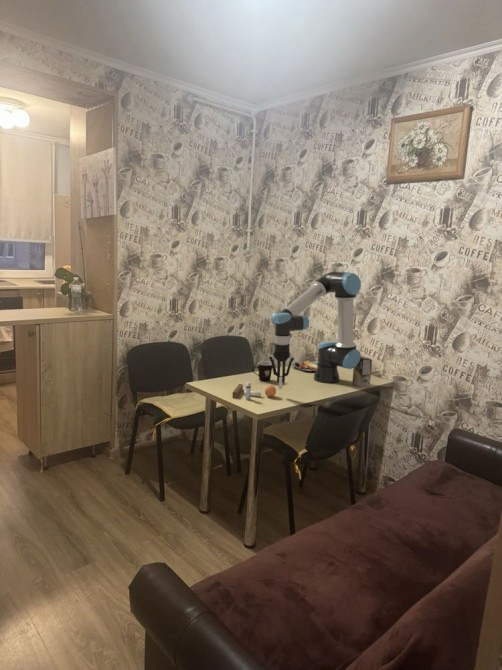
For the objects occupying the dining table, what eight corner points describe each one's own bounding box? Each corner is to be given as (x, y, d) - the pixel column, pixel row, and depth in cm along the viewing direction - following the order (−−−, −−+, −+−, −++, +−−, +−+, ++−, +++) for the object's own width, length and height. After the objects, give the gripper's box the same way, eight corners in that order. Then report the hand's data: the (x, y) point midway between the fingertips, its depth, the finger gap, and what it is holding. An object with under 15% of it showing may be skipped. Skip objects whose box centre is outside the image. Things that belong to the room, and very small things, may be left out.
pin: (259, 393, 237) (243, 391, 240) (259, 398, 238) (244, 395, 241) (260, 391, 239) (245, 389, 242) (261, 395, 240) (245, 393, 243)
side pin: (250, 398, 235) (251, 382, 234) (249, 400, 233) (250, 383, 231) (246, 398, 235) (246, 382, 234) (245, 399, 233) (245, 383, 232)
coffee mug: (272, 378, 275) (273, 362, 274) (271, 382, 267) (272, 365, 265) (252, 377, 276) (253, 361, 275) (251, 381, 268) (252, 364, 266)
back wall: (242, 389, 251) (242, 384, 250) (236, 398, 235) (236, 392, 235) (239, 389, 251) (239, 384, 250) (232, 397, 235) (232, 392, 235)
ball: (267, 382, 243) (263, 393, 243) (266, 384, 237) (262, 395, 237) (278, 386, 242) (274, 397, 242) (277, 388, 236) (273, 399, 236)
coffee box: (370, 386, 267) (372, 359, 264) (361, 387, 264) (363, 359, 262) (360, 382, 275) (362, 355, 272) (351, 383, 272) (353, 356, 270)
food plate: (284, 366, 309) (285, 361, 308) (309, 362, 323) (310, 357, 322) (311, 375, 289) (311, 370, 289) (336, 371, 304) (337, 366, 303)
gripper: (295, 342, 237) (293, 387, 241) (270, 341, 239) (269, 385, 243) (294, 345, 230) (292, 391, 234) (268, 344, 232) (267, 389, 236)
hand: (280, 388), depth 239 cm, fingers closed
